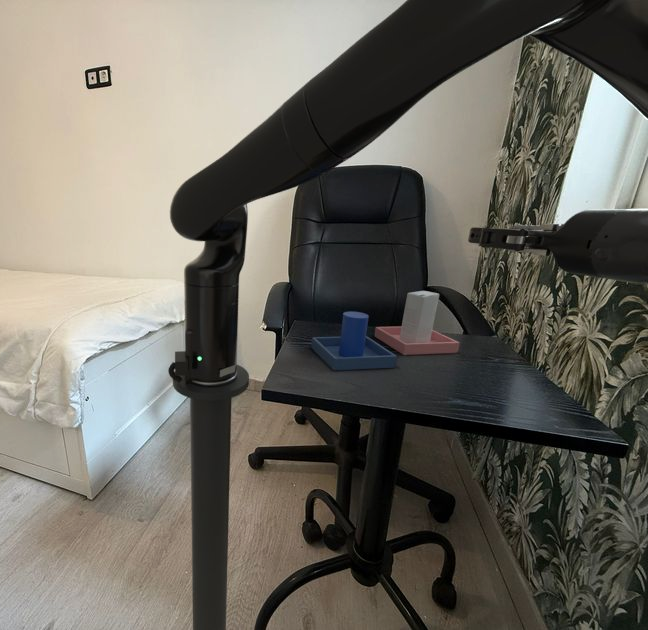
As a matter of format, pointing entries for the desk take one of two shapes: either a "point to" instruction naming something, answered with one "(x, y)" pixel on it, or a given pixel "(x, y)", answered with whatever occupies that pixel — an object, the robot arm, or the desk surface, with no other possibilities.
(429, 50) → the robot arm
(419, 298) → the cosmetic box
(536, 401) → the desk surface
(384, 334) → the rose tray
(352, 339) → the blue canister
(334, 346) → the blue tray
